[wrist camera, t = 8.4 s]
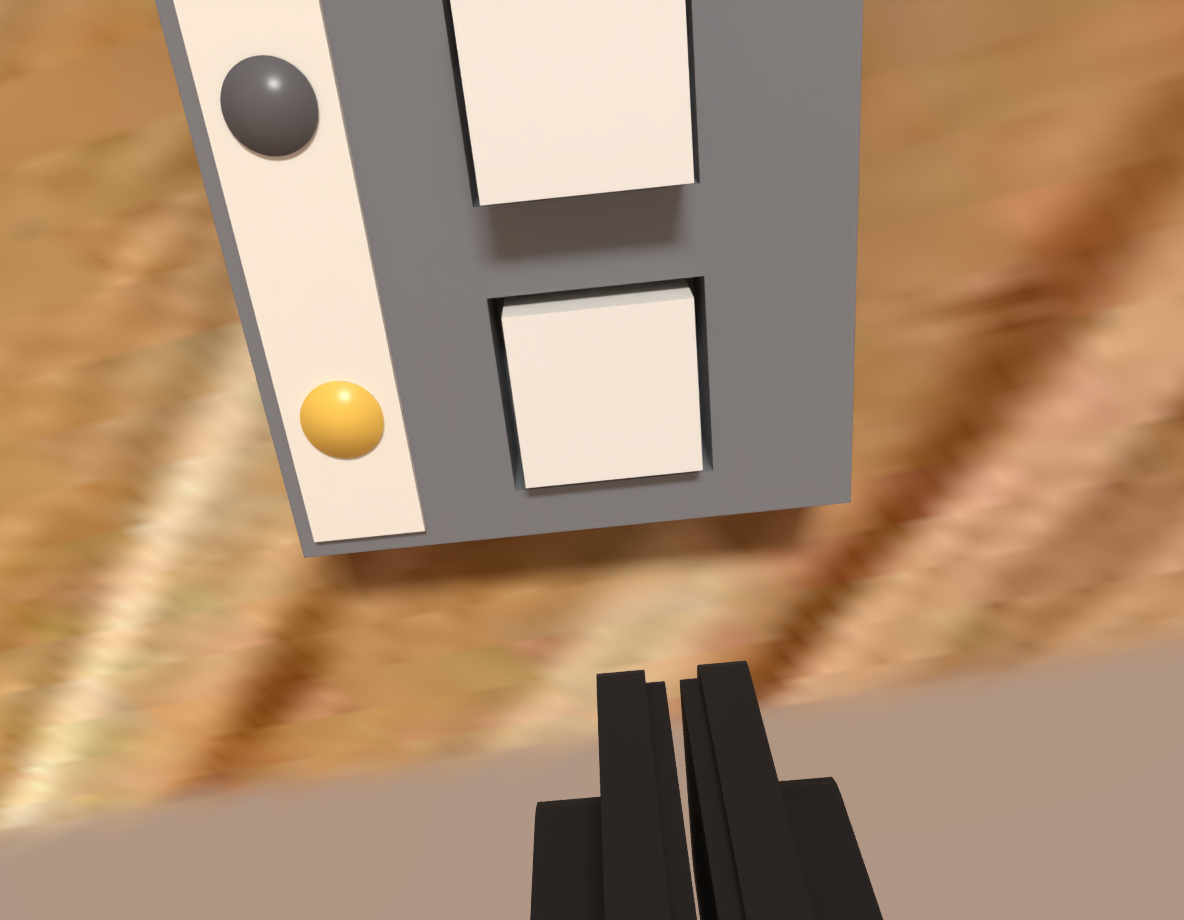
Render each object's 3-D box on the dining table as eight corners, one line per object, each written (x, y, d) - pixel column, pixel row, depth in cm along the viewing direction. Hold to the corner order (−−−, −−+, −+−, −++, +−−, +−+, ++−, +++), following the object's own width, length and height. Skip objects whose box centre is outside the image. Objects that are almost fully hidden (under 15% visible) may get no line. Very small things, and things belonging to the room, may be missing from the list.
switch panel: (827, -594, 17) (886, -722, 14) (819, 448, 25) (853, 508, 22) (83, -508, 17) (-19, -617, 14) (331, 498, 25) (301, 564, 22)
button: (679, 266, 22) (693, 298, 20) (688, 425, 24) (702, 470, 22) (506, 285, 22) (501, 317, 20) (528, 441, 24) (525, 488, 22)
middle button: (666, -54, 18) (682, -61, 16) (678, 162, 20) (694, 183, 18) (458, -32, 18) (444, -36, 16) (488, 181, 20) (480, 205, 18)
